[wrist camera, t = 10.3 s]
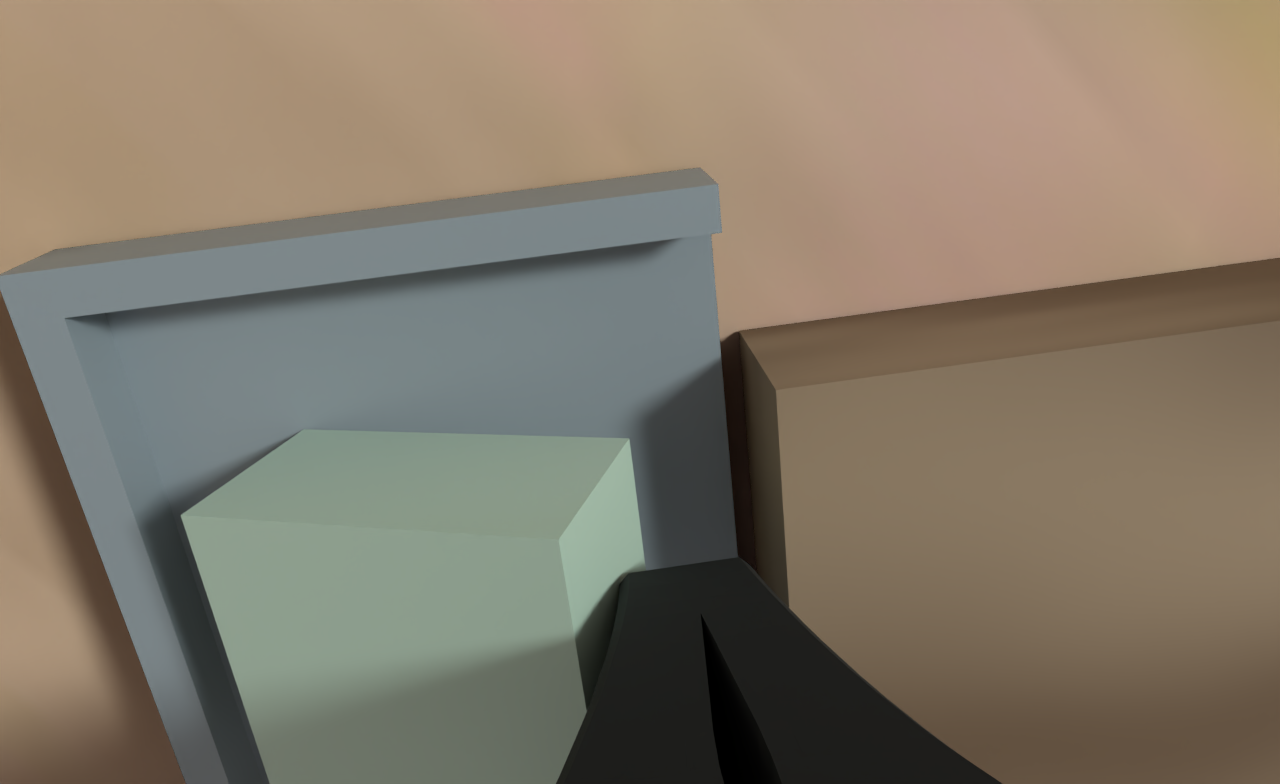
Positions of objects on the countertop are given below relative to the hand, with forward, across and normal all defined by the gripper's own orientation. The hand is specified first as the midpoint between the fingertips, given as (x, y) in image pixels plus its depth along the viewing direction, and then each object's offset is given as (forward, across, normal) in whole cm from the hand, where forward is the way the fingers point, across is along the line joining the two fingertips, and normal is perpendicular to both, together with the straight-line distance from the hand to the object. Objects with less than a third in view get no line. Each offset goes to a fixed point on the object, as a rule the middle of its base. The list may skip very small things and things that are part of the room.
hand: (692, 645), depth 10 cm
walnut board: (+3, -6, +4) cm, 7 cm away
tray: (+3, +3, +2) cm, 5 cm away
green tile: (+1, +2, 0) cm, 3 cm away
